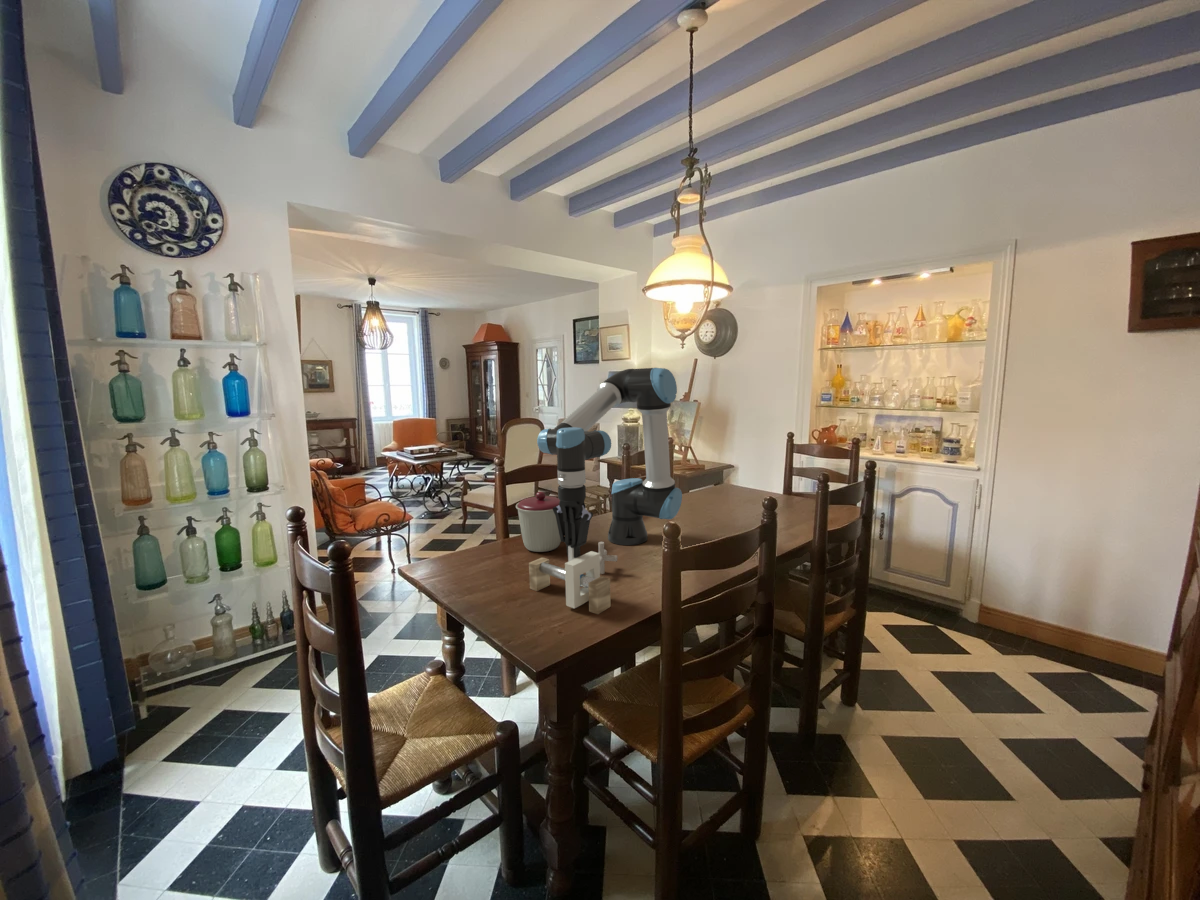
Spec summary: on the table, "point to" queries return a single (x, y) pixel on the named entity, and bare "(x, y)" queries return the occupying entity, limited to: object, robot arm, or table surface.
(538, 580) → the rod support stand
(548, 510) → the canister
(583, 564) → the collar
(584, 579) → the steel rod
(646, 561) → the table surface
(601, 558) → the pipe connector
